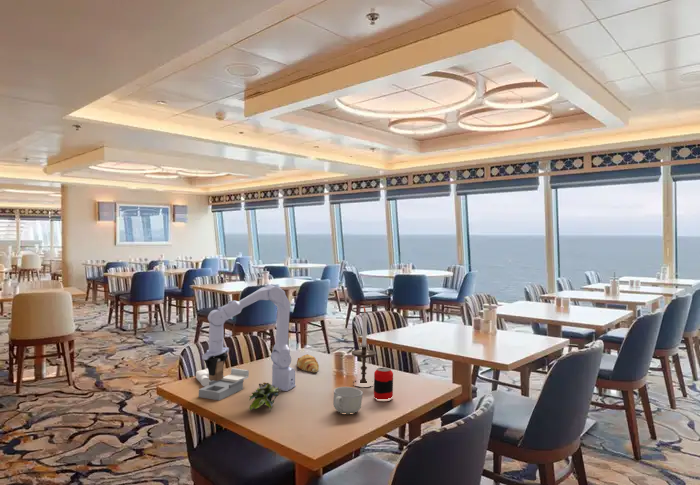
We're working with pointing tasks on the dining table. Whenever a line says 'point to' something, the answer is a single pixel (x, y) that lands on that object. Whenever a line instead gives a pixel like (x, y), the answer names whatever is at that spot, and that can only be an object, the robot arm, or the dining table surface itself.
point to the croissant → (308, 363)
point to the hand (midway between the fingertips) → (215, 373)
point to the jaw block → (218, 371)
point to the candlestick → (364, 349)
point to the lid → (236, 375)
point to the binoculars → (203, 377)
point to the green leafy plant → (264, 396)
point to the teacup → (347, 399)
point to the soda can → (383, 383)
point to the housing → (220, 389)
